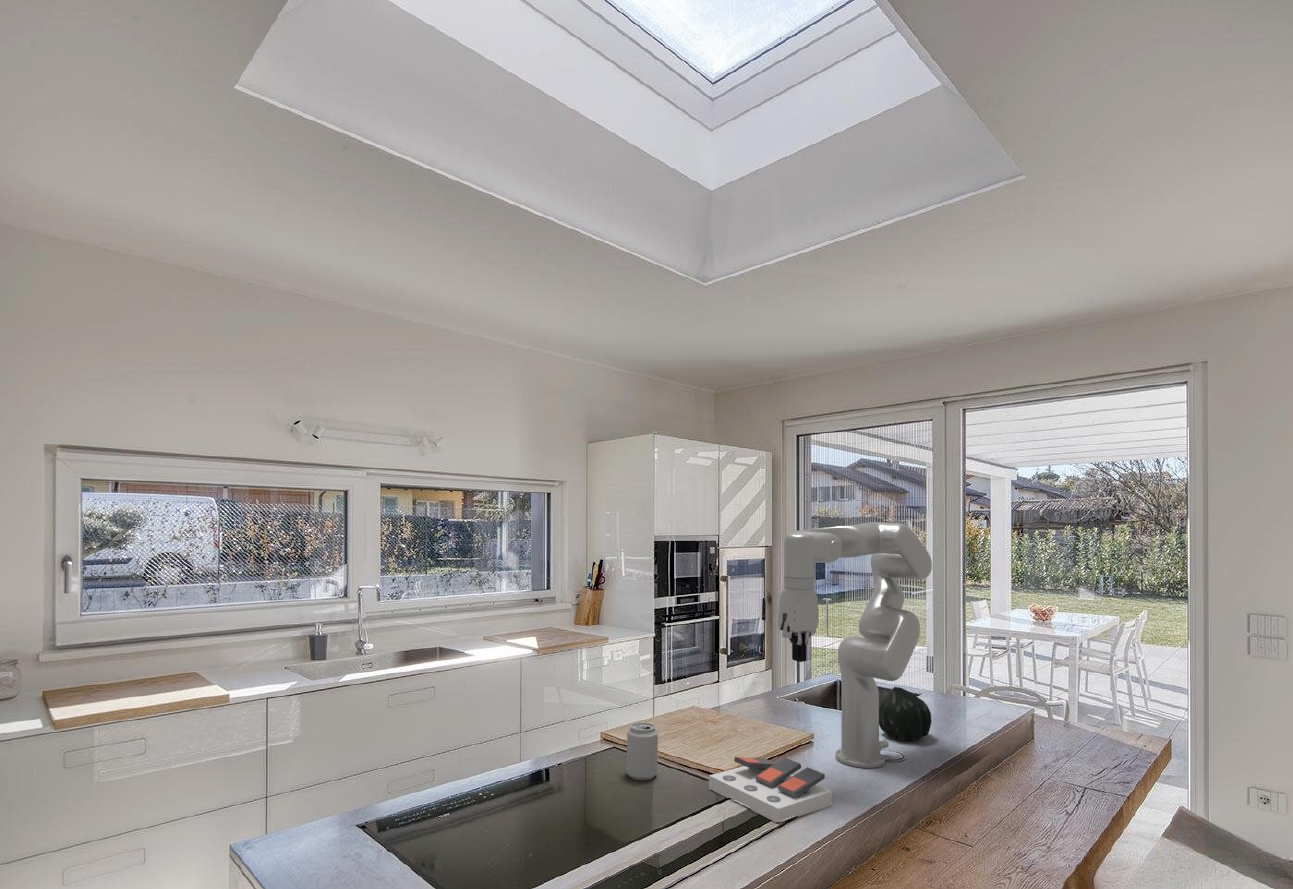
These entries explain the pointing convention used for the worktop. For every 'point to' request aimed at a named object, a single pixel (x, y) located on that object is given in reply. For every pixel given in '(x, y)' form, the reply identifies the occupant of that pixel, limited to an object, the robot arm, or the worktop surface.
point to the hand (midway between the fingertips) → (799, 660)
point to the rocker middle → (778, 772)
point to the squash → (904, 715)
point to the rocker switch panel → (767, 794)
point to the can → (642, 751)
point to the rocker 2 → (801, 782)
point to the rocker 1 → (754, 762)
